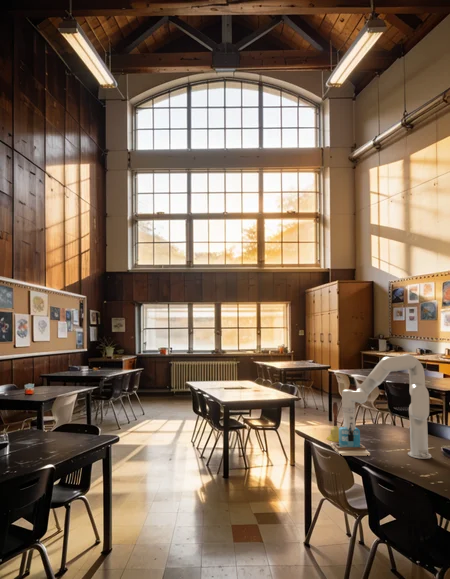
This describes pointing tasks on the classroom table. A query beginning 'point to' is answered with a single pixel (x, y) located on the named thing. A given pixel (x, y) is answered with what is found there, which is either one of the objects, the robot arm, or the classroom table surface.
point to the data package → (344, 438)
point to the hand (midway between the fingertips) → (349, 439)
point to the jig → (350, 450)
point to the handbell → (335, 430)
